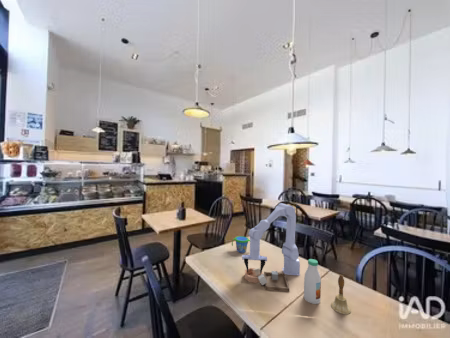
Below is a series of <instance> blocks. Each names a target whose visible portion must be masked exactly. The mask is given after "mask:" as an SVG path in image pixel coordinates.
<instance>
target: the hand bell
mask: <svg viewBox="0 0 450 338" xmlns="http://www.w3.org/2000/svg"><path fill="white" fill-rule="evenodd" d="M337 283H338V284H337V285H338V287H339V289H338V293H337V294H336V295H335V298H334V301H332V302H331V303H330V307H331V308H332V310H334V311H335V312H337V313H339V314H342V315H350V314H351V312H352V311H351V308H350V306H348V302H347V297H346V296H344V286H345V278H344V275H343V274H339V276H338V279H337Z"/></svg>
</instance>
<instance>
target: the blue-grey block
mask: <svg viewBox="0 0 450 338" xmlns="http://www.w3.org/2000/svg"><path fill="white" fill-rule="evenodd" d="M271 272H272V274H271V277H272V280H278V273H279V272H278V271H277V270H276V271H275V270H271Z"/></svg>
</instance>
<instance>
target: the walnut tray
mask: <svg viewBox="0 0 450 338" xmlns="http://www.w3.org/2000/svg"><path fill="white" fill-rule="evenodd" d="M271 274H272V271H263V275H264V277H265V279H266V280H267V283H265V284H264V288H265V290H268V291H278V292H279V291H280V292H290V286H289V283H288V280H287V277H286V274H285V273H284V272H278V280H272V277H271Z"/></svg>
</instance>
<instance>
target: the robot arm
mask: <svg viewBox="0 0 450 338" xmlns="http://www.w3.org/2000/svg"><path fill="white" fill-rule="evenodd" d="M279 217H285V218H286V229H285V242H284V243H283V244H282V248H281V253H282V254H283V267H282V268H281V269H282V273H285V275H290V276H300V275H301V274H300V272H301V270H300V268H301V264H300V259H299V257H300V256H299V254H300V253H299V249H298V247H297V245H296V228H297V227H296V225H297V224H296V223H297V214H296V208H294V206H292V205H288V204H285V203H282V202H280V203H278V205H276V206H275V209H274V210H273V211H272V212H271V213H270V214H269V215H268V217H266V219H261V220H260V221H259V222H258V224H257V225H255V226H254V227H252V228H250V229H249V232H248V233H247V235H248V236H249V240H250V241H249V254H242V255H241V259H242V260H243V263H244V265H245V269H247V272H248V269H249V260H250V261H260V265H259V266H260V267H259V268H260V273H263V269H264V268H265V267H264V266H265V265H266V262H268V256H263V255H260V251H261V249H260V248H261V239H262V237H263V235H264V234H265V232H266V231H267V230H269V228H270V227H271V226H270V225H271V224H272V223H273V222H274V221H275V220H276V219H277V218H279Z"/></svg>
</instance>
